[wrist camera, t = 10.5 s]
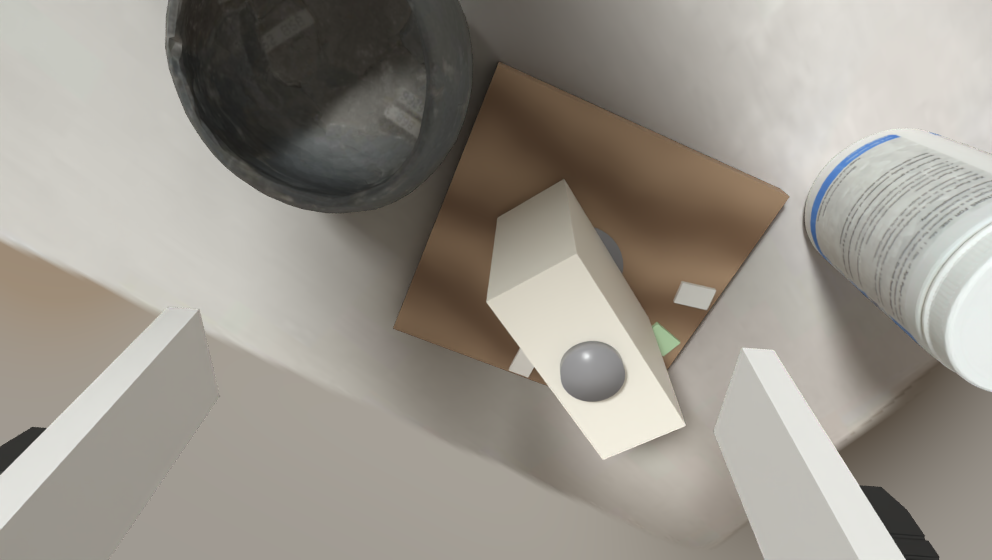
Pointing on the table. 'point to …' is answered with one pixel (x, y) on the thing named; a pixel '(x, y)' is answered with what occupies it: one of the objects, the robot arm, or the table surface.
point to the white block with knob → (580, 323)
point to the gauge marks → (666, 341)
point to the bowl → (323, 93)
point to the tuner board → (606, 202)
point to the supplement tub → (914, 239)
